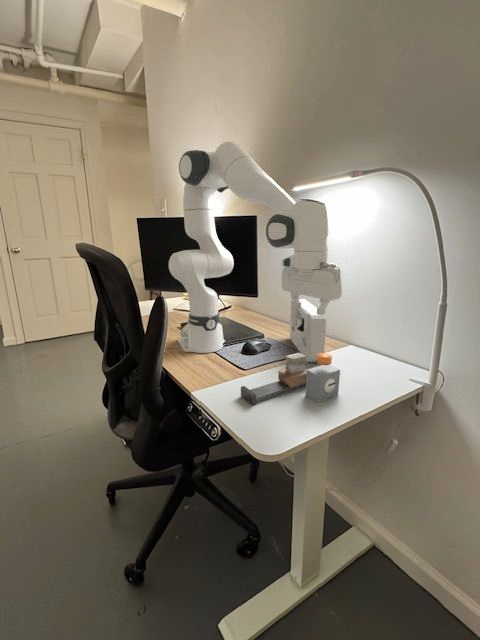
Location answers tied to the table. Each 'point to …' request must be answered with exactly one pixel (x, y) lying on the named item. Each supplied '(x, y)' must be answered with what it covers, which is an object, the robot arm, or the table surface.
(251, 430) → the table surface
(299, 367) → the carriage
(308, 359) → the rounded white slab
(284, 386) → the rail
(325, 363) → the button
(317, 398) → the cabinet
